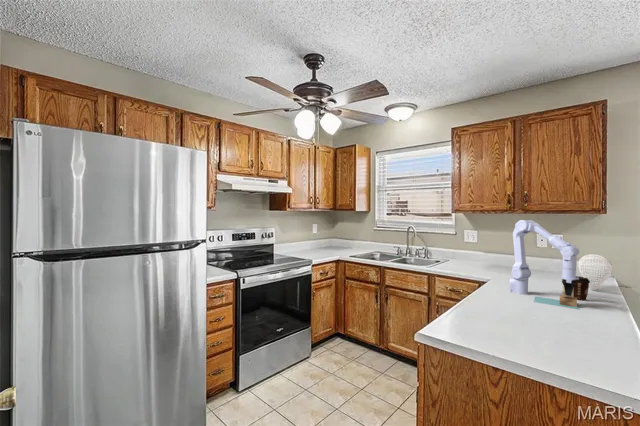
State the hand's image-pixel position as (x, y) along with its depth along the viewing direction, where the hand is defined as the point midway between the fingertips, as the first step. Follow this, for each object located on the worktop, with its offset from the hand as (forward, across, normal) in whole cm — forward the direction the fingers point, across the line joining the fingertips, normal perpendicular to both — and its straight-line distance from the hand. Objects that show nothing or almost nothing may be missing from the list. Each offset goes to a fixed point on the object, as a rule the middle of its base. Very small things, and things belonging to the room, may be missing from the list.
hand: (568, 294), depth 163 cm
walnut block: (+5, 0, 0) cm, 5 cm away
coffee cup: (+6, +18, -5) cm, 20 cm away
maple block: (+1, 0, 0) cm, 1 cm away
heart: (+6, +55, -13) cm, 57 cm away
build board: (+6, 0, +5) cm, 8 cm away
